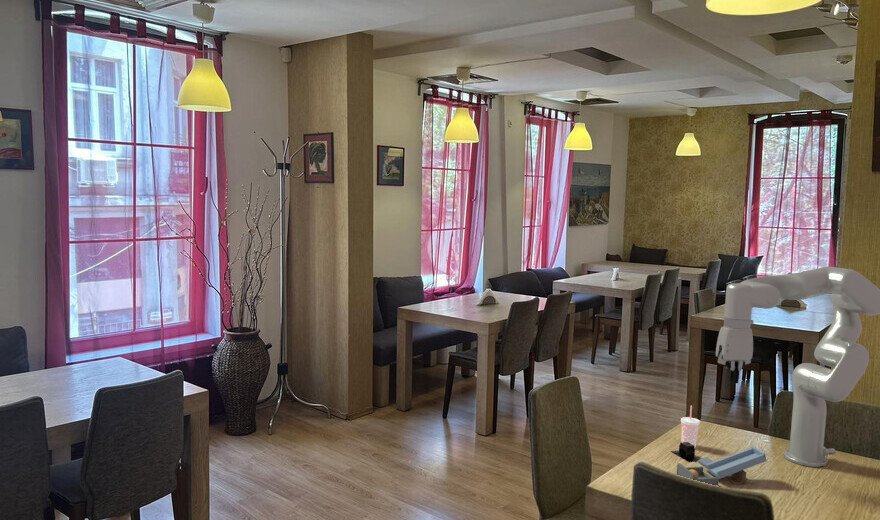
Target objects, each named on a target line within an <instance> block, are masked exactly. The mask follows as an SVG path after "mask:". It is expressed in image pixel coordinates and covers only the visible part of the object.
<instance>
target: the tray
mask: <svg viewBox="0 0 880 520" xmlns="http://www.w3.org/2000/svg"><path fill="white" fill-rule="evenodd" d="M676 464H677V465H676V475H680V476H683V477H686V478H690V479H693V480H697V481H700V482H705V483H708V484H712V485H718V486H719V482H720V479H719V478H718V477H716V476H714V477H712V476H710V475H708V474H707V473H706V472H704V466H687V467H686V466H684V465H683V464H681V463H679V462H678V463H677V462H676ZM691 469H693V470H696V471H697V473H698V478H695V476H696V475H695V474H694V473H693V472H691V471H690V470H691Z"/></svg>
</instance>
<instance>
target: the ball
mask: <svg viewBox="0 0 880 520" xmlns="http://www.w3.org/2000/svg"><path fill="white" fill-rule="evenodd" d="M690 471H691V472H693V473H694V474H695V475H696V476H695V478H698V473H697V471H696V470H693V469H691V470H690Z"/></svg>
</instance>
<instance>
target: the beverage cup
mask: <svg viewBox="0 0 880 520" xmlns="http://www.w3.org/2000/svg"><path fill="white" fill-rule="evenodd" d="M692 411H693V405H690V410H689V416H687V417H686V416H684V417H681V418H680V423H681V438H680V439H681V441H680V442H689V443H690V444H692V445H694V446H695V448H696V446H697V441H698V435H699V434H698V432H699V426H700V424H701V420H699V419H698V418H695V417H692Z"/></svg>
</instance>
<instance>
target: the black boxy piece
mask: <svg viewBox="0 0 880 520" xmlns="http://www.w3.org/2000/svg"><path fill="white" fill-rule="evenodd" d="M670 452H671V453H672V454H673V455H675V456H677V457H679V458H680V459H682V460H685V461H686V462H688V463H698V460H700V459H701V458H699V457H697V456H696V455H695V454H696V447H695V446H694V445H692V444H690V443H689V442H681V441H680V442H679V446H678V450H671V451H670Z"/></svg>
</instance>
